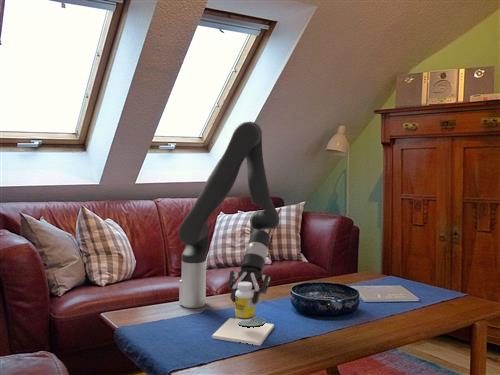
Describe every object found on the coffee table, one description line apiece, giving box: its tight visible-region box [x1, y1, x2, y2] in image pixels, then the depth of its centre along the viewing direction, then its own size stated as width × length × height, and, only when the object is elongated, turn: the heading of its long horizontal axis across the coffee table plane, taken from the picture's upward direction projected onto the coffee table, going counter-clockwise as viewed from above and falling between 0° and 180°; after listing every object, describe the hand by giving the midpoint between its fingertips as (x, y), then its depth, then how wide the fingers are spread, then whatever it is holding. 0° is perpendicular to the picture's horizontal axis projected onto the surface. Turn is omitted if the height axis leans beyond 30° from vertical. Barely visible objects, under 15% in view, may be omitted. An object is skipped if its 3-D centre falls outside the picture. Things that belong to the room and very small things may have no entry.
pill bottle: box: [234, 282, 256, 321], centre depth 160 cm, size 6×6×12 cm
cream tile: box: [211, 317, 275, 346], centre depth 161 cm, size 16×16×1 cm
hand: (243, 302), depth 158 cm, fingers closed on pill bottle, 6 cm apart
